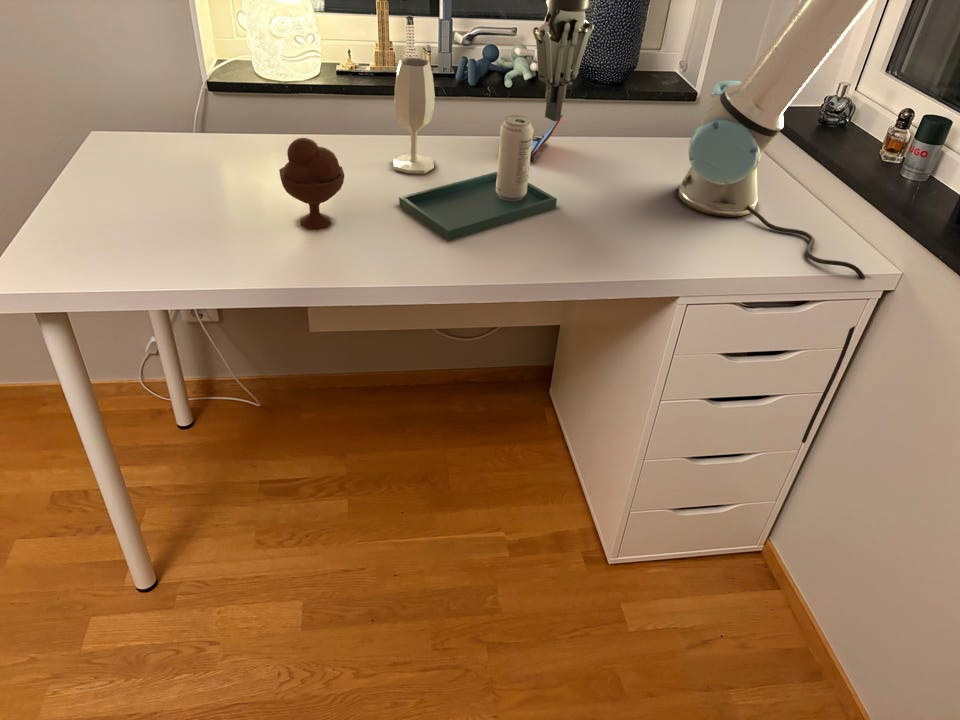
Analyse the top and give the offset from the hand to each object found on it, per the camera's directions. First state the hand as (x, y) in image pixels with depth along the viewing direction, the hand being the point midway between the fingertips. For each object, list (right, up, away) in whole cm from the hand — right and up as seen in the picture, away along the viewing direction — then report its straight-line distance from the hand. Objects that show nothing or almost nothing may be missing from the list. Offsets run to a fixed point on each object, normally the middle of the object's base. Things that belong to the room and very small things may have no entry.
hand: (552, 118), depth 144 cm
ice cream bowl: (-43, -22, -9) cm, 49 cm away
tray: (-14, -17, 0) cm, 22 cm away
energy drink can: (-8, -14, +4) cm, 17 cm away
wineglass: (-28, -6, +13) cm, 31 cm away
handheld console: (-3, 0, +24) cm, 24 cm away
